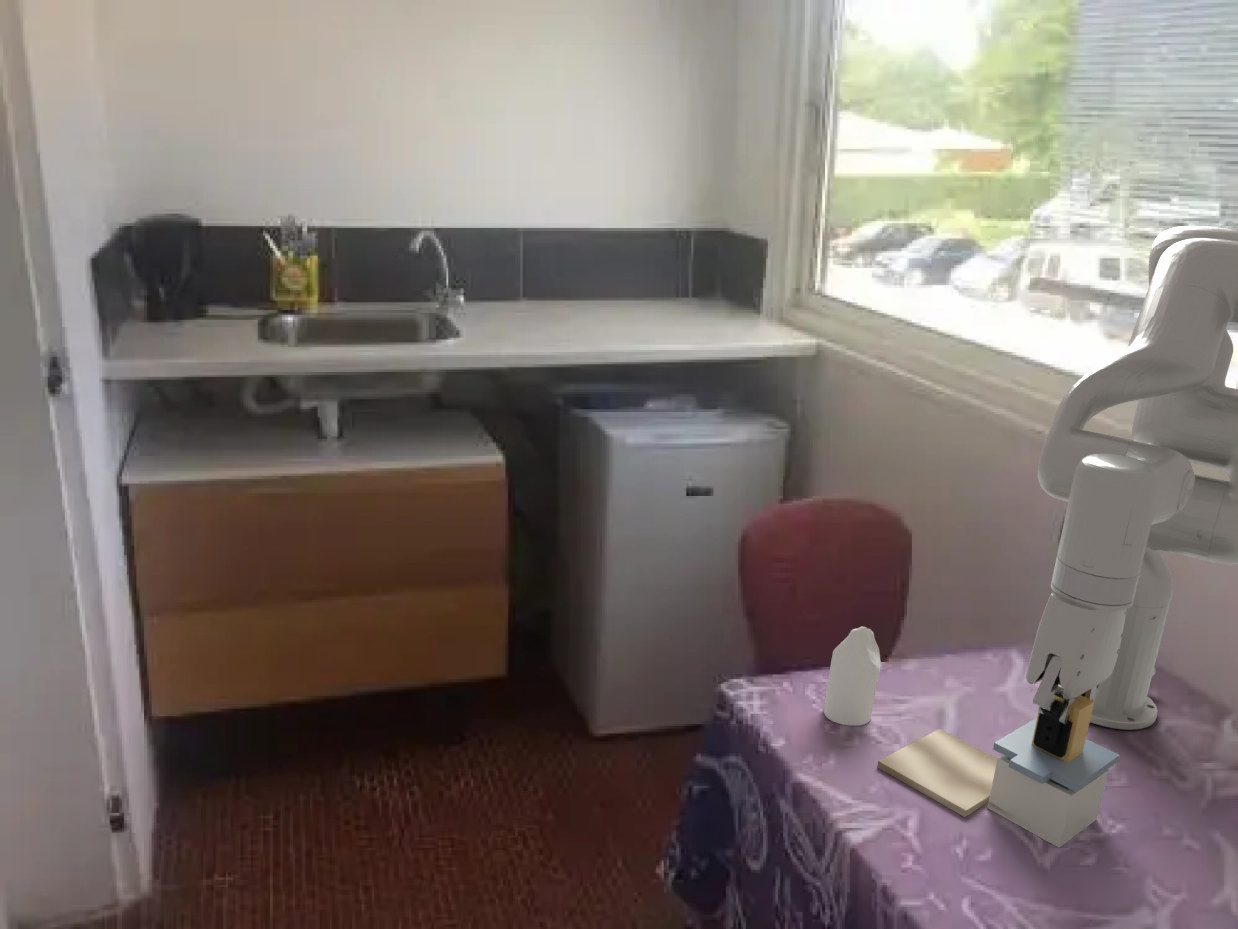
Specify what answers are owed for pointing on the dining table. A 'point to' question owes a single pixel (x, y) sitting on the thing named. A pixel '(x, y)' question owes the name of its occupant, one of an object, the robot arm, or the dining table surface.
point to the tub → (1044, 803)
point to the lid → (1041, 765)
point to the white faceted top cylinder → (853, 679)
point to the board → (944, 770)
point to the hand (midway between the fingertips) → (1058, 743)
